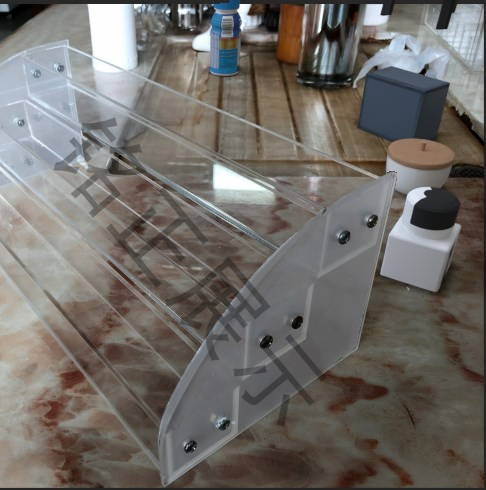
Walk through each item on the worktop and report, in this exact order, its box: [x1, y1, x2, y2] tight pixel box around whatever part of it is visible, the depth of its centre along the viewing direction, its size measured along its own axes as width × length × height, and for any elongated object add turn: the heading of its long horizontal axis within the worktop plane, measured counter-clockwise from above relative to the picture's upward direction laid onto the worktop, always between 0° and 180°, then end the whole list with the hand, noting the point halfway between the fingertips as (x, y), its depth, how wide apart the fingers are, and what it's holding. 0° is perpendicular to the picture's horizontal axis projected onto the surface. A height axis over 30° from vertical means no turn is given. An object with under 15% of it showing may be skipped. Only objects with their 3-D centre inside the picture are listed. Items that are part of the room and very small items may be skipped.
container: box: [379, 187, 462, 293], centre depth 81 cm, size 8×8×13 cm
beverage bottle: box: [209, 0, 243, 77], centre depth 158 cm, size 8×8×20 cm
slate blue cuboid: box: [356, 65, 451, 143], centre depth 123 cm, size 8×14×12 cm, turn 34°
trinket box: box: [385, 139, 456, 196], centre depth 103 cm, size 11×11×9 cm
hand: (414, 22), depth 120 cm, fingers open, 13 cm apart
